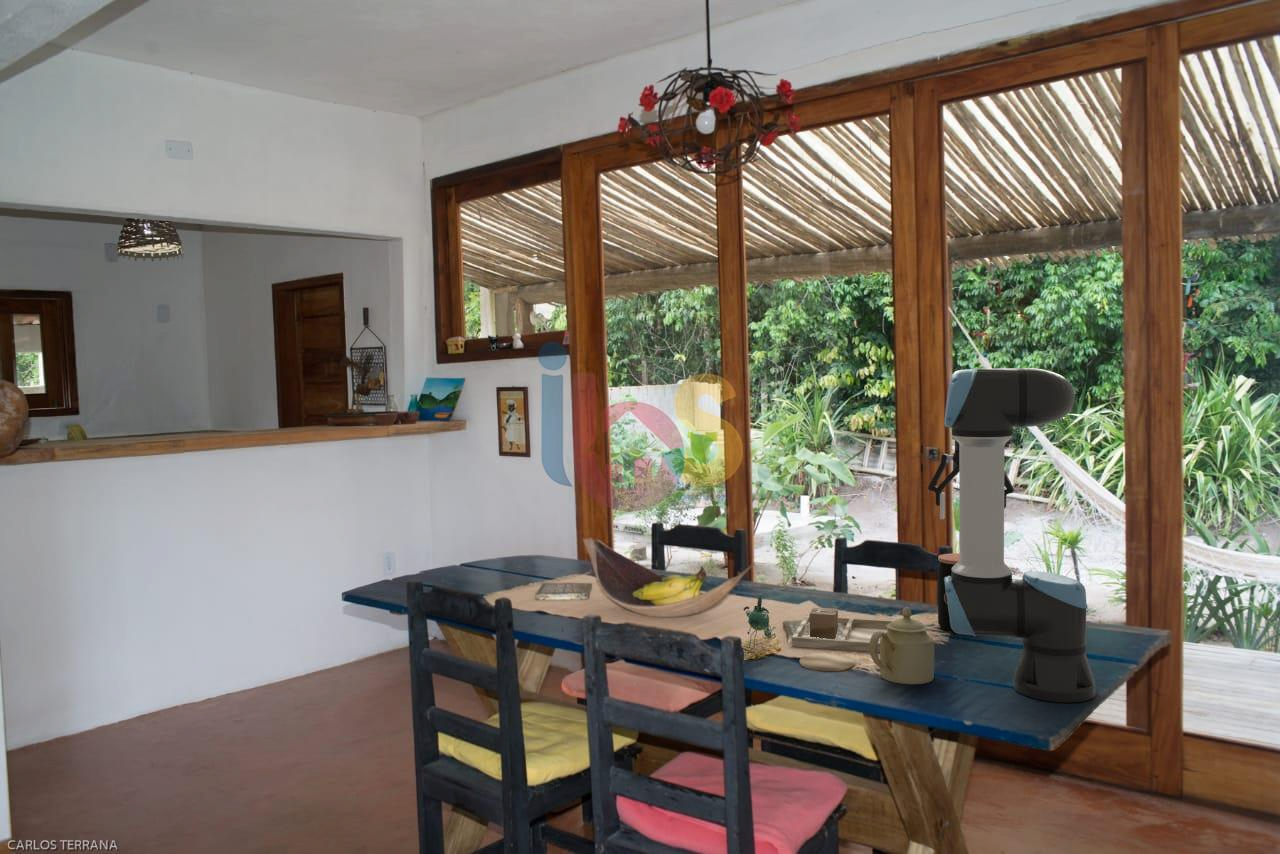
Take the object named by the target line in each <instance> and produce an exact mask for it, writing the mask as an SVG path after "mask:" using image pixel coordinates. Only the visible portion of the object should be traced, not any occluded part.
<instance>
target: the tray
mask: <svg viewBox="0 0 1280 854" xmlns="http://www.w3.org/2000/svg"><path fill="white" fill-rule="evenodd" d="M894 620H895V619H894ZM894 620H891V619H890V620H889V619H877V618H876V619H875V618H859V617H857V618H856V617H843V616H841V617H840V616H838V623H842V624H843V625H845V626H846V627H845V629H844V632H843V634H842V636H841V638H836V639H823V638H809V637H802V635H803V632H804V630H805V628H806V626H807V624H808V622H810V614H806V615H805V616H804V618H803V619H802V620H801V622H800V624H799V626H798V627H797V629H796V630H795V632H794V633H793V635H792V637H791V646H792V647H800V648H814V649H815V648H816V649H827V650H828V649H830V650H842V651H843V650H844V651H854V652H856V651H857V652H868V653H870V650H869V644H870V639H871V636H872V635H873V634H874V633H875V632H877V631H882V632H885V633H886V632H887V631H888V628H887V625H888V624H889V623H891V622H892V621H894ZM877 653H880V639H879V641H878V644H877Z"/></svg>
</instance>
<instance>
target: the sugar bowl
mask: <svg viewBox="0 0 1280 854" xmlns="http://www.w3.org/2000/svg"><path fill="white" fill-rule="evenodd" d="M901 614H902V617H901V618H897V619H894V621H892V622H891V623H889V624H888V625H887V628H888V631H887V632H886V633H885V632H882V631H877V632H875V633H874V634H873V635H872V636H871V639H870V644H869V650H870V652H869V655H870V657H871V660H872V661H873V663H874V664H875V665H876V666H877V668H879V669H880V677H881V678H883V680H885V681H888V682H891V683H896V684H901V685H922V684H928V683H931V682H932V681H933V680H934V679H935V678H934V677H935V674H934V673H935V640H934V638H933V636H931V635H929V634H928V633H927V630H928V626H926V625H925V624H923V623H922V622H921V621H919V620H917V619H914V618H911V616H912V614H913V613H912V610H911V609H910V607H908V606H905V607H904V608H903V609H902V612H901ZM879 639H880V652H877V644H878V641H879Z"/></svg>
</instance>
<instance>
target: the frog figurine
mask: <svg viewBox="0 0 1280 854" xmlns="http://www.w3.org/2000/svg"><path fill="white" fill-rule="evenodd" d="M762 602H763V594H762V593H758V595H757V605H754V607H753V610H751V611H750V606H745V607H744V608H743V612H745V615H746V617H748V620H747V622H748V624H749V626H750V627H749V630H748V631H746V633H747V635H750V639H749V640H746V641H745V642H742V644H743V651H744V660H743V661H748V660H758V659H762V658H765V657H767V656H770V655H777V653H778V652H779V650H780V649H781V648H782V644H781V642H780V640H779V637H777V636H776V633H772V631H773V630H776V626H773V628H772V627H771V626H770V616H769V614H770V612H769V610H768V609H767V608H765V607H764V606H762V604H763V603H762ZM751 628H752V629H753V630H754V631H753V632H752V633H751V634H750V632H751ZM759 631H760V632H761V631H763V633H764V634H763V636H762V637H761V638H759V637H758V636H757V634H758V632H759ZM754 633H755V634H754ZM753 634H754V638H752V636H753Z"/></svg>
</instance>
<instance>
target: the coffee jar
mask: <svg viewBox="0 0 1280 854" xmlns="http://www.w3.org/2000/svg"><path fill="white" fill-rule="evenodd" d="M937 559H938V561H939V564H938V567H937V624H938V625H939V627H940V629H941V630H943V631H945V632H949V633H953V634H954V633H955V634H957V633H956V632H954V631H953V630H952V628H951V625H950V617H949V610H948V603H947V595H946V589H945V581H944V578H945V577H948V576H952V567H953V566H954V565H955V564H956V563H957V562H958V561H959V553H944V554H943V553H942V554H940V555H938V557H937Z"/></svg>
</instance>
